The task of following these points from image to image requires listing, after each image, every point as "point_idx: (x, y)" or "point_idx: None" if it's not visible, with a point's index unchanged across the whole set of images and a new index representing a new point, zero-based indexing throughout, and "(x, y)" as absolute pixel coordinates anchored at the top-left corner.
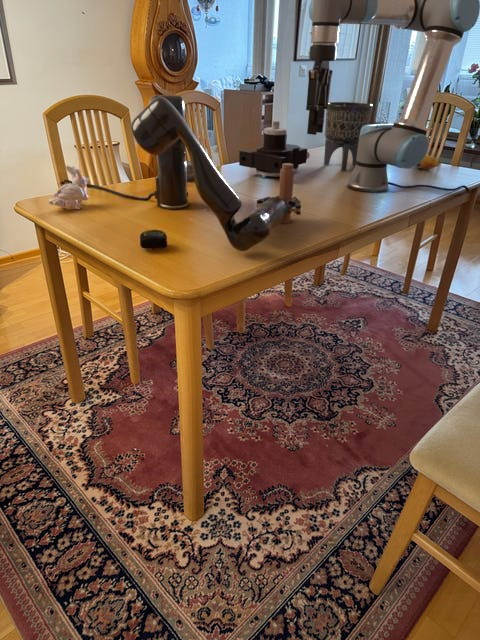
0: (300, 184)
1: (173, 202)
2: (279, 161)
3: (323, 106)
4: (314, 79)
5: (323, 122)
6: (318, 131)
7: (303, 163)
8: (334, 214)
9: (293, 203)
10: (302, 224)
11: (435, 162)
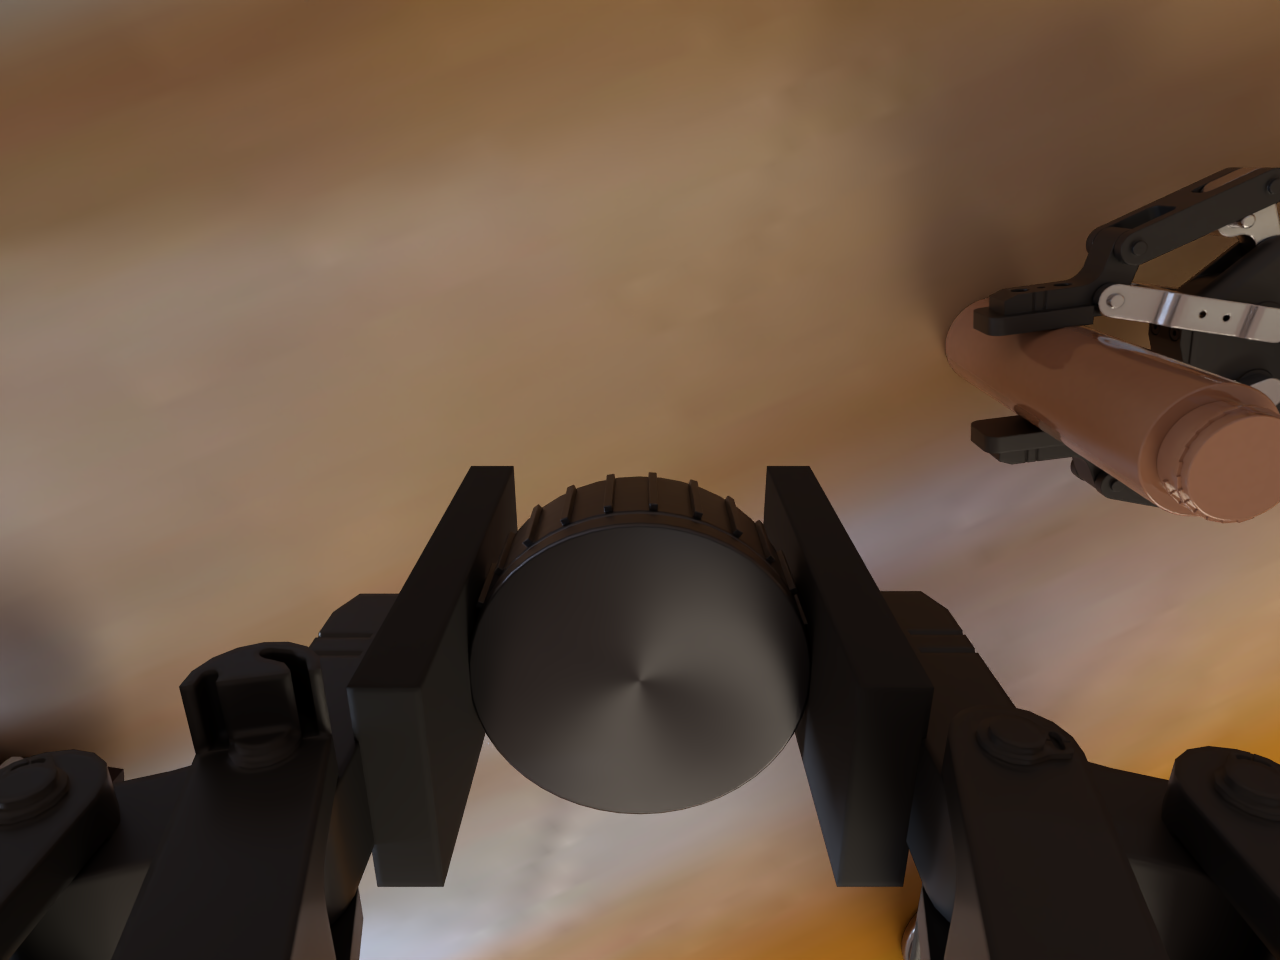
0: (63, 606)
1: None
2: None
3: (331, 789)
4: None
5: (617, 482)
6: (511, 528)
7: None
8: (657, 77)
9: (1125, 282)
10: (1004, 201)
11: None
